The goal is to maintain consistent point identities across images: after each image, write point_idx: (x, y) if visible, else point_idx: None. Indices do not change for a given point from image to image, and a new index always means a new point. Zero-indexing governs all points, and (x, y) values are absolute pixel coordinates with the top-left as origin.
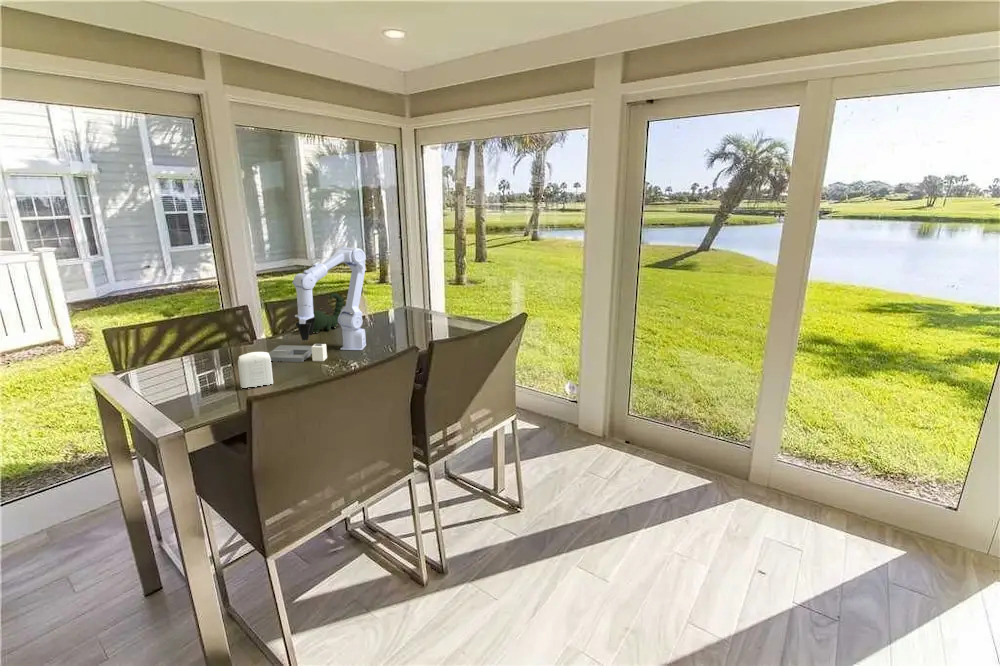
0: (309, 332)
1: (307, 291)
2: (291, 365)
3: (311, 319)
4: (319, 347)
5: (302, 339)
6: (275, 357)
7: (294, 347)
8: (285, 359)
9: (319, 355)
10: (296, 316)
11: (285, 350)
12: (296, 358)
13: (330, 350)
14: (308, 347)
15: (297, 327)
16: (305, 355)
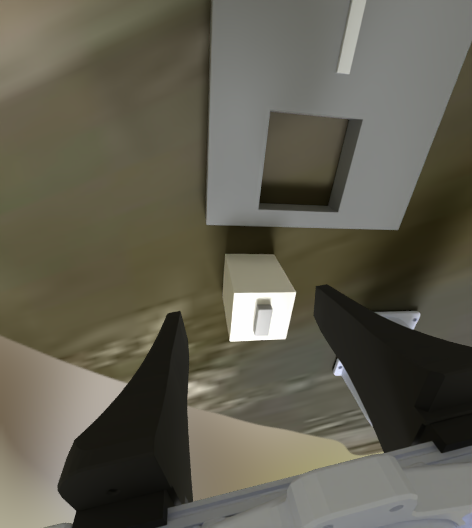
0: (323, 320)
1: None
2: (151, 177)
3: (396, 443)
4: (230, 328)
5: (166, 318)
6: (211, 41)
7: (407, 110)
8: (208, 121)
9: (226, 297)
10: (290, 514)
11: (350, 69)
12: (207, 191)
13: (360, 278)
14: (382, 197)
15: (99, 416)
16: (249, 225)
